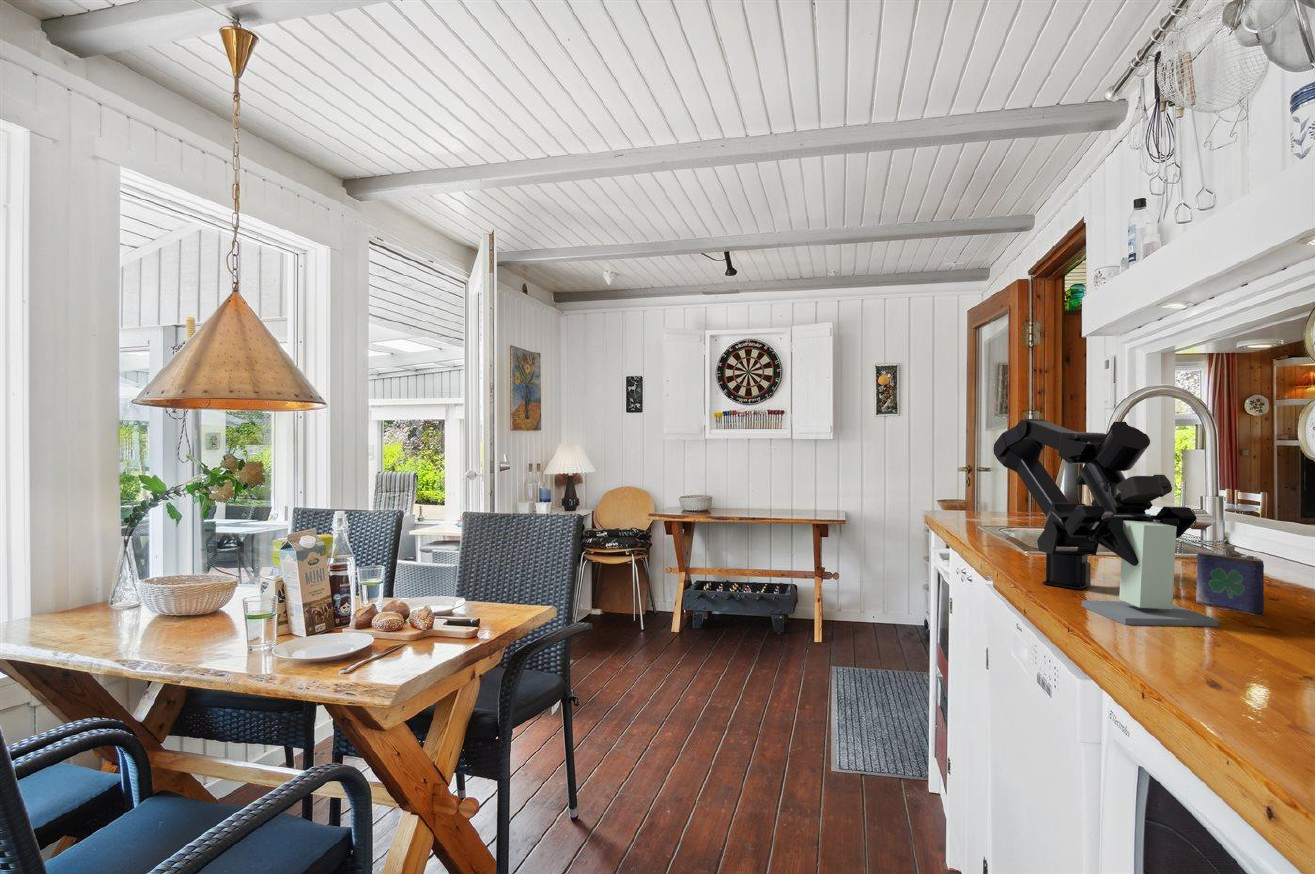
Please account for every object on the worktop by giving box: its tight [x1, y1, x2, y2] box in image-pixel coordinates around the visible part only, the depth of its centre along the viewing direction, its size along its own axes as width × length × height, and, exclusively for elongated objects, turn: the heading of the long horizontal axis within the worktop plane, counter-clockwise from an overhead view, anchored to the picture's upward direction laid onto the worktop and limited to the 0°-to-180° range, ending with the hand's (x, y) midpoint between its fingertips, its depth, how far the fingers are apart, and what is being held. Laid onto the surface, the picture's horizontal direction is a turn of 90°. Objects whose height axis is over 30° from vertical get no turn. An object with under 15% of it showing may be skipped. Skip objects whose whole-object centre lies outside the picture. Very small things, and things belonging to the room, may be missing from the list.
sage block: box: [1118, 521, 1177, 609], centre depth 110 cm, size 5×5×13 cm
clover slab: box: [1195, 544, 1265, 617], centre depth 115 cm, size 9×3×11 cm, turn 28°
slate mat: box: [1081, 600, 1219, 627], centre depth 110 cm, size 11×14×1 cm
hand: (1153, 564), depth 109 cm, fingers closed on sage block, 5 cm apart
